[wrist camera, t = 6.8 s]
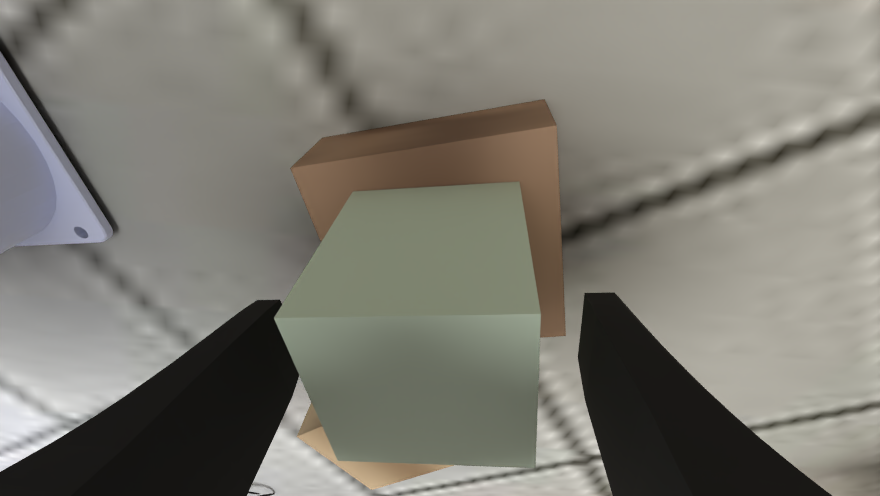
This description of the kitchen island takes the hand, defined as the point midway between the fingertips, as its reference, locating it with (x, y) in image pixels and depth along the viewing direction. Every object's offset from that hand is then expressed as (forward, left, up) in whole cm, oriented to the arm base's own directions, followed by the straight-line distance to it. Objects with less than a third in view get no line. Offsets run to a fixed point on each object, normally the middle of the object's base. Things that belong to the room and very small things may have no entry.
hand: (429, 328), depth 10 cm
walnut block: (0, 0, -6) cm, 6 cm away
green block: (0, 0, -3) cm, 3 cm away
